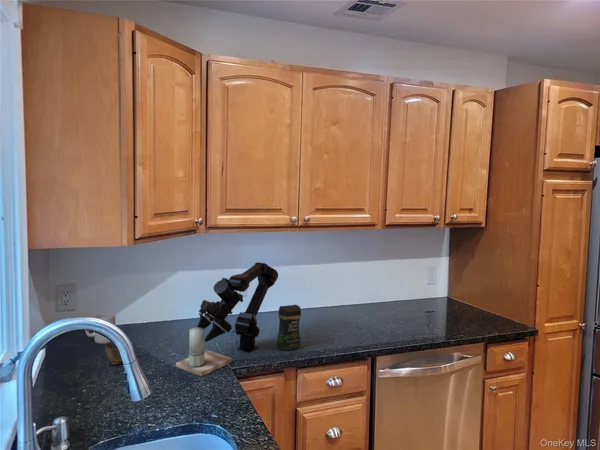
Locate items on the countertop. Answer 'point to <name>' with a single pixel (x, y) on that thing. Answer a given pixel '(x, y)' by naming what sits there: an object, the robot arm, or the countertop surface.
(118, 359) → the cup
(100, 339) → the mug
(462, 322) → the countertop surface
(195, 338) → the light bulb
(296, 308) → the coffee jar
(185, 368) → the mounting board
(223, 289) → the robot arm
